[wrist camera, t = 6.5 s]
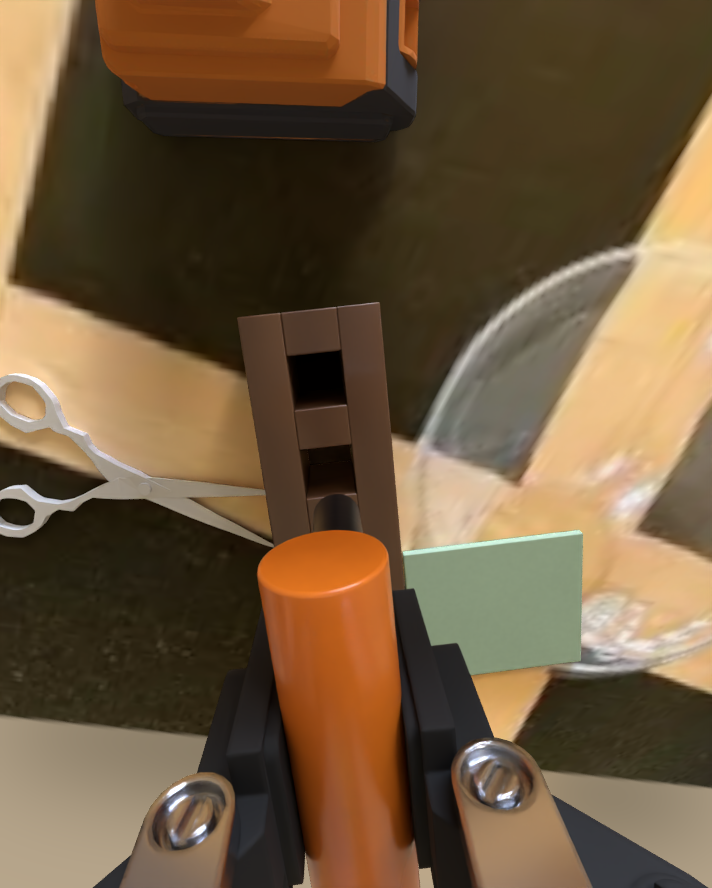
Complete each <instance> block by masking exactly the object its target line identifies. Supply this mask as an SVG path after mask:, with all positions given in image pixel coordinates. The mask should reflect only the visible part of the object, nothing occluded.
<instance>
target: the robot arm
mask: <svg viewBox="0 0 712 888" xmlns="http://www.w3.org/2000/svg"><path fill="white" fill-rule="evenodd" d="M392 597H393V607H394V618H395V628H396V638H397V649H398V659H399V670H400V680H401V691H402V695H401V705H402V715H403V726H404V736H405V747H406V757H407V767H408V778H409V788H410V799H411V809H412V819H413V830H414V839H415V846H416V852H417V859H418V865H419V869H423V868H430V867H431V873H432V879H433V885H434V888H708V887H706V886H705V885H703V884H702V883H701V882H699V881H698V880H696V879H695V878H694V877H692V876H691V875H689V874H687V873H686V872H684V871H682V870H680V869H679V868H677V867H675V866H674V865H672V864H670V863H668V862H667V861H665V860H663V859H662V858H660V857H658V856H656V855H655V854H653V853H651V852H650V851H648V850H646V849H644V848H643V847H641V846H639V845H637V844H636V843H634V842H632V841H631V840H629V839H627V838H626V837H624V836H622V835H620V834H619V833H617V832H615V831H613V830H612V829H610V828H608V827H607V826H605V825H603V824H601V823H600V822H598V821H596V820H595V819H593V818H591V817H589V816H588V815H586V814H584V813H583V812H581V811H579V810H577V809H576V808H574V807H572V806H571V805H569V804H567V803H565V802H564V801H562V800H560V799H559V798H557V797H555V796H553V795H552V794H551V792H550V790H549V788H548V786H547V783H546V781H545V779H544V777H543V774H542V772H541V770H540V768H539V767H538V765H537V764H536V762H535V760H534V759H533V758H532V757H531V756H530V755H529V754H528V753H527V752H526V751H525V750H524V749H523V748H521V747H519V746H517V745H516V744H514V743H512V742H510V741H507V740H503V739H499V738H494V736H493V733H492V731H491V728H490V725H489V723H488V720H487V717H486V715H485V712H484V710H483V707H482V704H481V702H480V699H479V696H478V694H477V691H476V689H475V686H474V683H473V681H472V678H471V675H470V673H469V670H468V668H467V665H466V662H465V660H464V657H463V654H462V652H461V649H460V647H459V645H458V644H457V643H451V644H442V645H434V646H431V643H430V640H429V636H428V633H427V630H426V626H425V623H424V619H423V616H422V613H421V609H420V606H419V603H418V599H417V596H416V592H415V589H414V588H411V589H403V590H394V591H392ZM304 864H305V847H304V842H303V836H302V830H301V824H300V819H299V813H298V807H297V802H296V796H295V790H294V784H293V779H292V773H291V767H290V761H289V756H288V750H287V744H286V739H285V733H284V727H283V721H282V716H281V710H280V704H279V699H278V693H277V687H276V681H275V676H274V670H273V664H272V658H271V653H270V647H269V641H268V636H267V630H266V624H265V618H264V613H263V607H262V609H261V612H260V617H259V621H258V625H257V629H256V633H255V637H254V641H253V645H252V650H251V654H250V658H249V662H248V666H247V668H242V669H234V670H229V671H228V672H227V675H226V677H225V680H224V684H223V687H222V690H221V694H220V697H219V701H218V704H217V707H216V711H215V714H214V717H213V721H212V724H211V728H210V731H209V734H208V738H207V741H206V744H205V748H204V751H203V755H202V758H201V762H200V765H199V768H198V772H197V773H196V774H193V775H189V776H186V777H184V778H182V779H181V780H179V781H177V782H175V783H173V784H172V785H171V786H170V787H168V788H167V789H166V790H165V791H163V792H162V793H161V794H160V795H159V797H158V798H157V799H156V800H155V801H154V803H153V804H152V805H151V807H150V809H149V811H148V813H147V815H146V817H145V818H144V821H143V824H142V826H141V829H140V832H139V835H138V838H137V840H136V843H135V846H134V849H133V851H132V854H131V856H129V857H128V858H127V859H126V860H125V861H123V862H122V863H121V864H120V865H119V866H118V867H116V868H115V869H114V870H113V871H112V872H111V873H109V874H108V875H107V876H106V877H105V878H104V879H103V880H101V881H100V882H99V883H98V884H97V885H95V886H94V887H93V888H293V885H298V884H302V883H303V879H304Z"/></svg>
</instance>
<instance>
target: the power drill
mask: <svg viewBox="0 0 712 888" xmlns="http://www.w3.org/2000/svg"><path fill="white" fill-rule="evenodd" d="M419 3H420V0H95V4H96V12H97V19H98V27H99V34H100V42H101V48H102V55H103V59H104V61H105V63H106V65H107V67H108V68H109V69H110V70H111V72H113V73H114V74H115V75H117V76H118V77H120V78H121V83H122V92H123V101H124V106H125V107H126V108H127V109H128V110H129V111H130V112H131V113H132V114H133V115H134V116H135V117H136V118H137V119H138V120H141V121H142V122H143V123H144V124H145V125H146V126H147V127H148V128H149V129H150V130H151V131H152V132H153V133H156V134H159V135H162V136H183V137H218V138H252V139H287V140H321V141H355V142H378V141H381V140H385V139H386V137H387V136H388V134H389V131H397V130H401V129H404V128H407V127H409V126H410V125H411V124H412V122H413V120H414V118H415V117H416V102H417V72H416V67H417V44H418V10H419Z"/></svg>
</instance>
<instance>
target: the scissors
mask: <svg viewBox="0 0 712 888" xmlns="http://www.w3.org/2000/svg"><path fill="white" fill-rule="evenodd" d="M13 381H16V382H20V383H24V384H27V385H30V386H32V387H33V388H34V389H35V390H36V391H37V392H38V394H39V395H40V396H41V397H42V398H43V400H44V402H45V404H46V412H45V416H44V417H43V418H42V419H38V420H34V419H31V418H28V417H26V416H24V415H21V414H19V413H17V412H16V411H15V410H14V409H13V408H11V407H10V406H9V405H8V404H7V402H6V400H5V395H6V389H7V386H8V385H9V384H10V383H12V382H13ZM0 417H2V418H3V419H4V420H5V421H6V422H8V423H9V424H10V425H11V426H13V427H15V428H17V429H19V430H21V431H23V432H25V433H29V432H32V431H36V430H40V429H44V428H48V427H50V428H51V429H52V430H53V431H54V432H57V433H60V434H63V435H66V436H69V437H70V438H71V439H72V440H73V441H74V442H75V443H76V444H77V445H78V446H79V447H80V448H81V449H82V450H83V451H84V452H85V453H86V454H87V455H88V457H89V458H90V459H91V460H92V462H93V463H94V465H95V466H96V468H97V469H98V470H99V472H100V473H101V474H102V475H103V476H104V477H105V478H106V479H107V480H108V481H109V482H107V483H105V484H103V485H100V486H98V487H96V488H94V489H92V490H91V491H89V492H87V493H85V494H83V495H81V496H78V497H76V498H73V499H68V500H56V499H50V498H44V497H42V496H41V495H39V494H38V493H36V492H35V491H34V490H33V489H31V488H30V487H29V486H28V485H15V486H10V487H8V488H6V489H3V490H1V491H0V500H1V499H4V498H14V499H19V500H22V501H26V502H27V503H28V504H29V505H30V506H31V507H32V508H33V509H34V510H35V516H34V522H33V523H32V524H30V525H25V526H20V525H14V524H11V523H8V522H5V520H4V519H3V518H2V517H1V516H0V534H2V535H4V536H8V537H25V536H27V535H29V534H31V533H33V532H35V531H36V530H38V529H39V528H41V527H42V526H43V525H44V524H45V523H46V522H47V521H48V519H49V517H50V515H51V514H52V513H53V512H55V511H57V510H58V509H60V510H67V511H74V510H76V509H77V508H78V507H79V506H80V505H81V504H82V503H83V502H85V501H87V500H89V499H91V498H104V499H148V500H150V501H153V502H155V503H157V504H160V505H162V506H164V507H167V508H169V509H172V510H174V511H176V512H179V513H181V514H183V515H186V516H188V517H191V518H193V519H196V520H198V521H201V522H204V523H206V524H209V525H212V526H214V527H217V528H220V529H223V530H226V531H228V532H231V533H234V534H237V535H239V536H242V537H245V538H247V539H250V540H252V541H255V542H258V543H260V544H263V545H267V546H270V547H273V548H274V545H273V544H272V543H270V542H268V541H266V540H264V539H263V538H261V537H259V536H257V535H255V534H253V533H252V532H250V531H248V530H246V529H244V528H242V527H241V526H239V525H237V524H235V523H233V522H231V521H229V520H227V519H225V518H223V517H221V516H219V515H217V514H216V513H214V512H212V511H210V510H208V509H207V508H205V507H203V506H201V505H200V504H198V503H196V502H194V501H193V500H190V499H188V498H189V497H230V496H255V495H266V494H265V490H264V489H256V488H248V487H240V486H232V485H224V484H216V483H208V482H199V481H188V480H178V479H167V478H156V477H150V476H148V475H147V474H145V473H143V472H142V471H139V470H137V469H135V468H133V467H130V466H128V465H126V464H124V463H121V462H119V461H118V460H116V459H114V458H112V457H111V456H109V455H107V454H105V453H103V452H101V451H99V450H98V449H97V448H96V446H95V445H94V444H93V443H92V441H91V438H90V436H89V434H88V433H86V432H83V431H81V430H78V429H76V428H73V427H70V426H69V424H68V423H67V421H66V419H65V416H64V414H63V412H62V410H61V406H60V403H59V401H58V399H57V397H56V396H55V394H54V393H53V392H52V391H51V390H50V388H49V387H48V386H47V385H46V384H45V383H43V382H42V381H40V380H39V379H37V378H36V377H32V376H29V375H25V374H11V375H7V376H4V377H1V378H0Z"/></svg>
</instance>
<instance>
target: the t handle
mask: <svg viewBox="0 0 712 888" xmlns="http://www.w3.org/2000/svg"><path fill="white" fill-rule="evenodd" d="M257 578H258V584H259V590H260V596H261V601H262V607H263V613H264V618H265V624H266V630H267V636H268V641H269V647H270V653H271V658H272V664H273V670H274V676H275V681H276V687H277V693H278V699H279V704H280V710H281V716H282V721H283V727H284V733H285V739H286V744H287V750H288V756H289V761H290V767H291V773H292V779H293V784H294V790H295V796H296V802H297V807H298V813H299V819H300V824H301V830H302V836H303V842H304V847H305V853H306V859H307V864H308V870H309V876H310V881H311V887H312V888H420V880H419V870H418V859H417V852H416V846H415V839H414V830H413V819H412V809H411V799H410V788H409V778H408V767H407V757H406V747H405V736H404V726H403V715H402V705H401V695H402V691H401V680H400V670H399V659H398V649H397V638H396V628H395V618H394V607H393V597H392V586H391V576H390V565H389V555H388V552H387V549H386V548H385V546H384V545H383V543H382V542H380V541H379V540H378V539H376V538H375V537H373V536H371V535H368V534H365V533H363V529H362V523H361V517H360V512H359V508H358V506H357V504H356V502H355V501H354V500H353V499H351V498H350V497H348V496H346V495H343V494H331V495H328V496H326V497H324V498H322V499H321V500H320V501H319V502H318V504H317V505H316V507H315V509H314V516H313V533H309V534H305V535H301V536H298V537H295V538H292V539H290V540H287V541H285V542H283V543H281V544H280V545H278V546H276V547H275V548H273V549H272V550H270V551H269V552H268V553H267V554H266V555H265V556H264V557H263V558H262V560H261V562H260V564H259V566H258V570H257Z"/></svg>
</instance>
